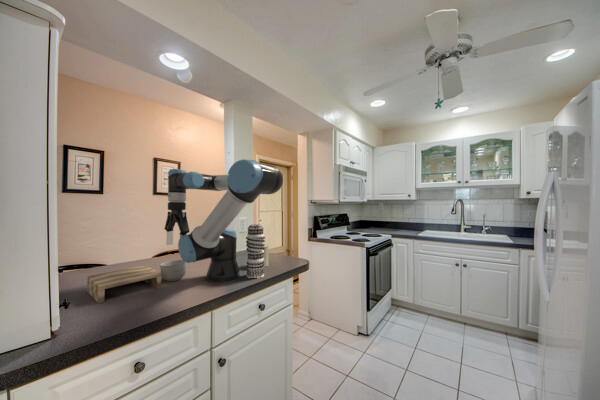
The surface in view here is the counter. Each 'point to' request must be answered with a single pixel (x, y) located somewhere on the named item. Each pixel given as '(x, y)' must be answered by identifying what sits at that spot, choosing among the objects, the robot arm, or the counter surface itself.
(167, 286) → the counter surface
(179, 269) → the teacup
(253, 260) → the decorative candle
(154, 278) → the wooden riser stand
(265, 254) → the can
